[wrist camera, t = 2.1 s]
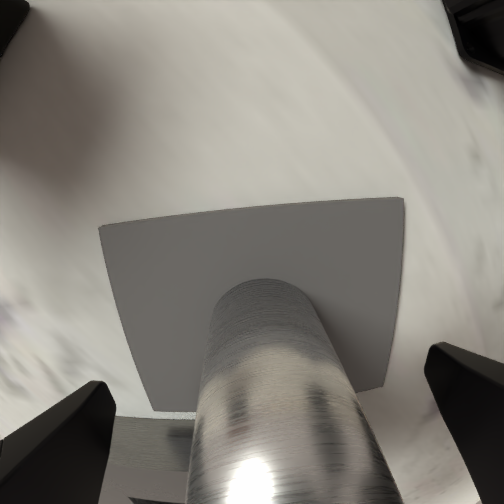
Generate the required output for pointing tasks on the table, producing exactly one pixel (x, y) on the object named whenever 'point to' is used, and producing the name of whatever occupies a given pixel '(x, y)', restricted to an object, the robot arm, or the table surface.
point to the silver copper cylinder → (279, 410)
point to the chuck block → (148, 461)
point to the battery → (11, 19)
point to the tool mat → (255, 267)
